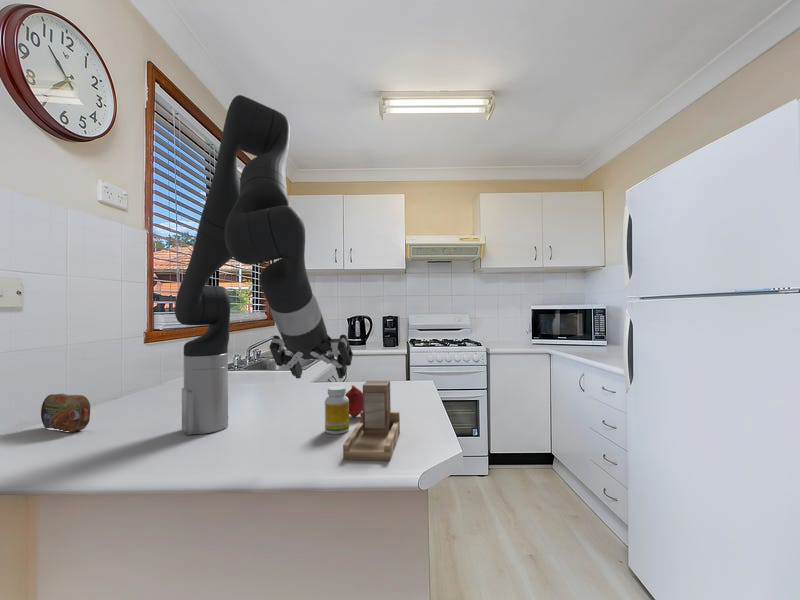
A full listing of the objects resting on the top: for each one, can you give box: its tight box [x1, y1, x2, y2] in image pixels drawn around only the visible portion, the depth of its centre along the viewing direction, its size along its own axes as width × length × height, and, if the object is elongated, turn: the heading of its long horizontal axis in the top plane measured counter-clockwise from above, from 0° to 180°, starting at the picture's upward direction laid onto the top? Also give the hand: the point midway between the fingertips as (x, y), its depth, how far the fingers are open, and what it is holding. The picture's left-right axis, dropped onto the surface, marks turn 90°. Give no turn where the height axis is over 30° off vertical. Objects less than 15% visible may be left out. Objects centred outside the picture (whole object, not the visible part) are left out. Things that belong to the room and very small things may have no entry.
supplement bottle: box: [324, 385, 350, 435], centre depth 87 cm, size 5×5×10 cm
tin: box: [40, 393, 91, 433], centre depth 92 cm, size 15×3×8 cm, turn 68°
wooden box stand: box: [342, 380, 401, 462], centre depth 78 cm, size 16×8×12 cm, turn 174°
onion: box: [345, 384, 363, 418], centre depth 98 cm, size 6×6×8 cm
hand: (320, 374), depth 76 cm, fingers open, 8 cm apart
